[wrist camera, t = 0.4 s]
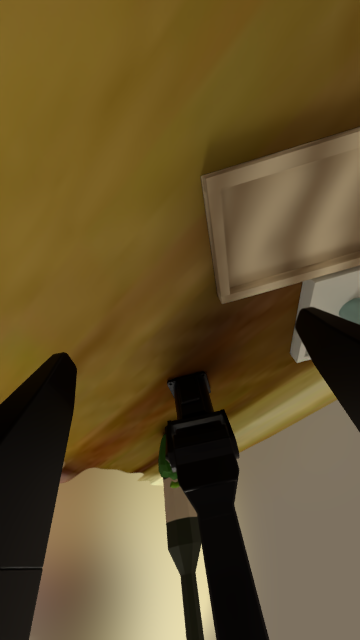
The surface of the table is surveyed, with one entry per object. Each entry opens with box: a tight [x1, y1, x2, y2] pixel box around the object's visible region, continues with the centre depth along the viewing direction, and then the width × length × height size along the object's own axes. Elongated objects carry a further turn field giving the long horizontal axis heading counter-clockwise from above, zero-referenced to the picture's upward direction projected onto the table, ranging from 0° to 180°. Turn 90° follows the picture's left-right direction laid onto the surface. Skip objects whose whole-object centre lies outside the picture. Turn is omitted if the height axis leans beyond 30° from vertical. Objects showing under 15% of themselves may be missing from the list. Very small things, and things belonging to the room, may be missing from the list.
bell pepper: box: [158, 434, 179, 488], centre depth 44 cm, size 8×8×10 cm
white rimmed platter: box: [290, 265, 360, 363], centre depth 28 cm, size 15×15×2 cm
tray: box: [201, 127, 360, 304], centre depth 19 cm, size 18×12×2 cm, turn 104°
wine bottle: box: [163, 477, 204, 640], centre depth 49 cm, size 8×8×30 cm
